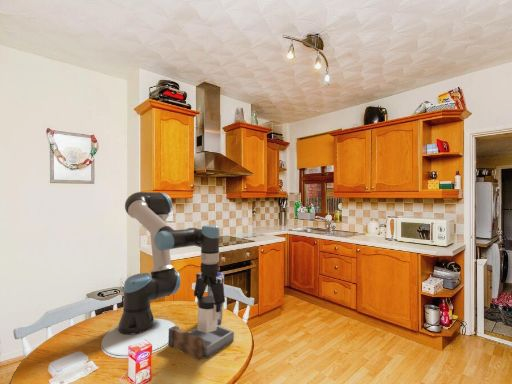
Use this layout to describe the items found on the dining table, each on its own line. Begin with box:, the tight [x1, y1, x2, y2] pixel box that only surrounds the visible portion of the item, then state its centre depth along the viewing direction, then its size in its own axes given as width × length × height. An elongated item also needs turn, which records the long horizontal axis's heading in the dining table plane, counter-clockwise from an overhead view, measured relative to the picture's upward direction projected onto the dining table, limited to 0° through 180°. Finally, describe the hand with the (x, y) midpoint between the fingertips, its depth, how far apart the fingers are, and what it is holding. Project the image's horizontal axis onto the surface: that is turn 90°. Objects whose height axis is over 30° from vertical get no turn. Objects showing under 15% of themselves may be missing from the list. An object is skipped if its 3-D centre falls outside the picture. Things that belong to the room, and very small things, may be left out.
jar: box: [197, 295, 219, 333], centre depth 113 cm, size 9×8×12 cm
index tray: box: [187, 324, 235, 359], centre depth 112 cm, size 15×16×4 cm
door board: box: [167, 325, 204, 361], centre depth 106 cm, size 17×3×7 cm, turn 55°
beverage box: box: [207, 271, 225, 325], centre depth 135 cm, size 7×11×22 cm, turn 1°
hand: (208, 316), depth 113 cm, fingers closed on jar, 8 cm apart
